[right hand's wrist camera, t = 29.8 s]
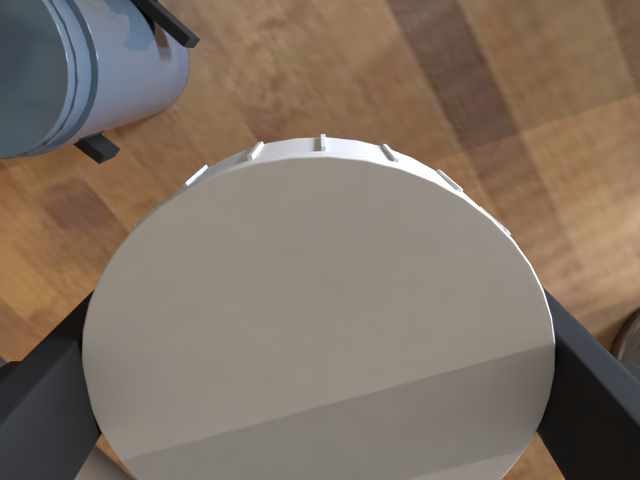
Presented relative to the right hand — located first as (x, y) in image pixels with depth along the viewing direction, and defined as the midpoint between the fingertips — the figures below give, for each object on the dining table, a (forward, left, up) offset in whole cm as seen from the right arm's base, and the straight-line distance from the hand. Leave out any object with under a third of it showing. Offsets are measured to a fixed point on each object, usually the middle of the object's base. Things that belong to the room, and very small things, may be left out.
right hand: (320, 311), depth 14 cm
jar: (+13, -11, -28) cm, 33 cm away
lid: (0, 0, +3) cm, 3 cm away
